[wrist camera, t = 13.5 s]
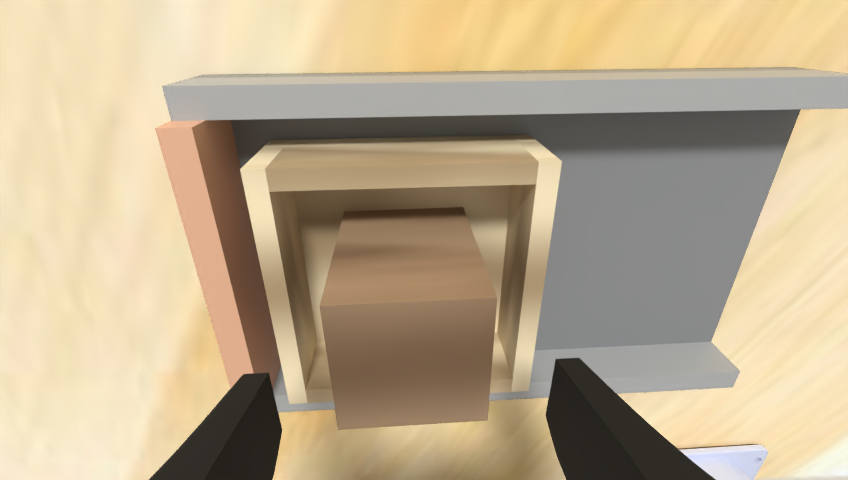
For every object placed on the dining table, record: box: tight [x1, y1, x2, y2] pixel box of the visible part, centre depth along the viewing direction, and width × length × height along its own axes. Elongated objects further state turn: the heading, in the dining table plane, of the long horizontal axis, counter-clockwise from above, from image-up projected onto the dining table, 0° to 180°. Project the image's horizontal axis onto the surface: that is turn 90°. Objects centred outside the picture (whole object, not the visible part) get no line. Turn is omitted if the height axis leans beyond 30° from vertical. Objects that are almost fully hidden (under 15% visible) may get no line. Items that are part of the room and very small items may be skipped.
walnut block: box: [319, 207, 497, 430], centre depth 14 cm, size 4×4×6 cm
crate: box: [240, 135, 562, 404], centre depth 16 cm, size 9×9×3 cm
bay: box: [155, 67, 848, 412], centre depth 17 cm, size 14×22×4 cm, turn 90°
